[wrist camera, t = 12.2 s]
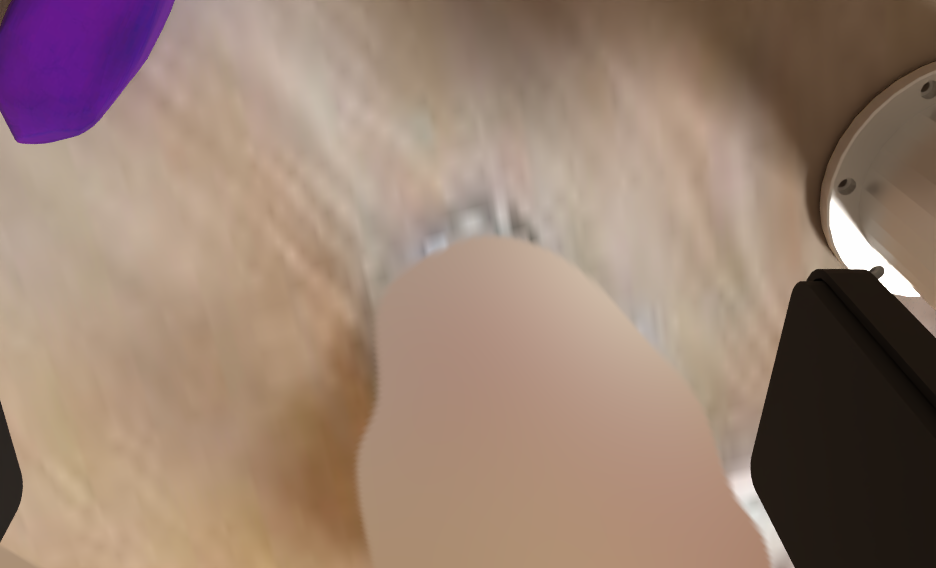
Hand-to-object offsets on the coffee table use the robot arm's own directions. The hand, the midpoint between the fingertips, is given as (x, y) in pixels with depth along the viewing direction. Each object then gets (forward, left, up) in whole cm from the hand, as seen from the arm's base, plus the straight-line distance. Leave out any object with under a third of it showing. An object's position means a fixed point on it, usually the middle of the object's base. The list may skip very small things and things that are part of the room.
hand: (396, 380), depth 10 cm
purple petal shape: (+11, +1, -31) cm, 33 cm away
